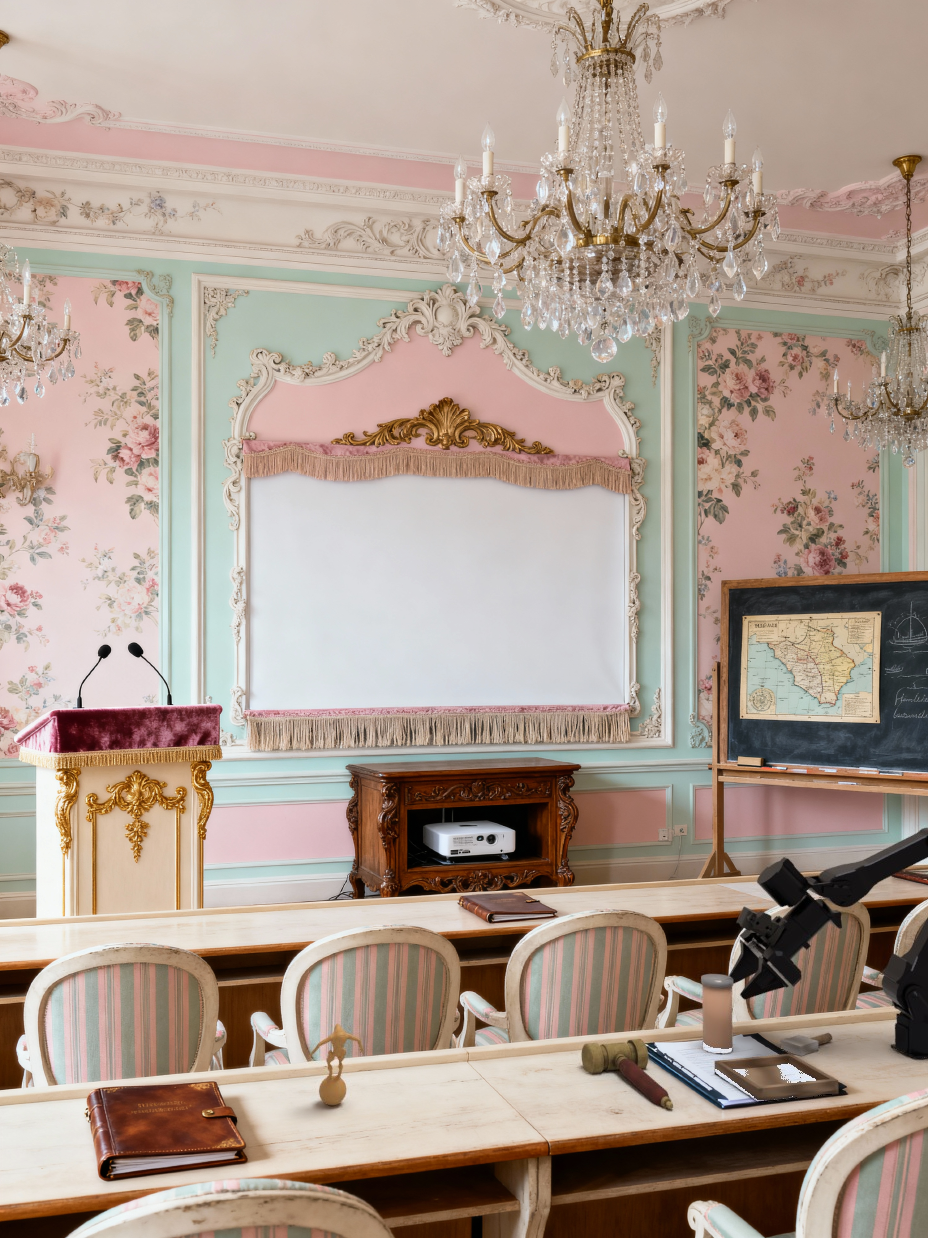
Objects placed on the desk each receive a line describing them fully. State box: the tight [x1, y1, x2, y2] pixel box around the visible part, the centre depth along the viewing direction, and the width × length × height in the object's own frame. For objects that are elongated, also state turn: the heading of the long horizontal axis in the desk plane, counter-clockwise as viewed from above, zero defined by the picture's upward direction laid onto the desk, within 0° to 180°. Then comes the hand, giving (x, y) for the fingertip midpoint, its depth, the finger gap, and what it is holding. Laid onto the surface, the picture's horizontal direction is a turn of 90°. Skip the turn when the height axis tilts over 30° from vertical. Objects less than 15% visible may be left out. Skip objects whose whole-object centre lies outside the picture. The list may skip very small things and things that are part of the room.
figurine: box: [307, 1023, 365, 1106], centre depth 152 cm, size 8×6×12 cm
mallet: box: [780, 1032, 833, 1057], centre depth 182 cm, size 11×4×2 cm, turn 127°
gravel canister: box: [700, 973, 734, 1049], centre depth 180 cm, size 5×5×12 cm
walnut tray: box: [714, 1053, 839, 1101], centre depth 164 cm, size 14×13×2 cm
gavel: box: [581, 1038, 674, 1110], centre depth 162 cm, size 21×5×10 cm
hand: (735, 990), depth 181 cm, fingers open, 9 cm apart
